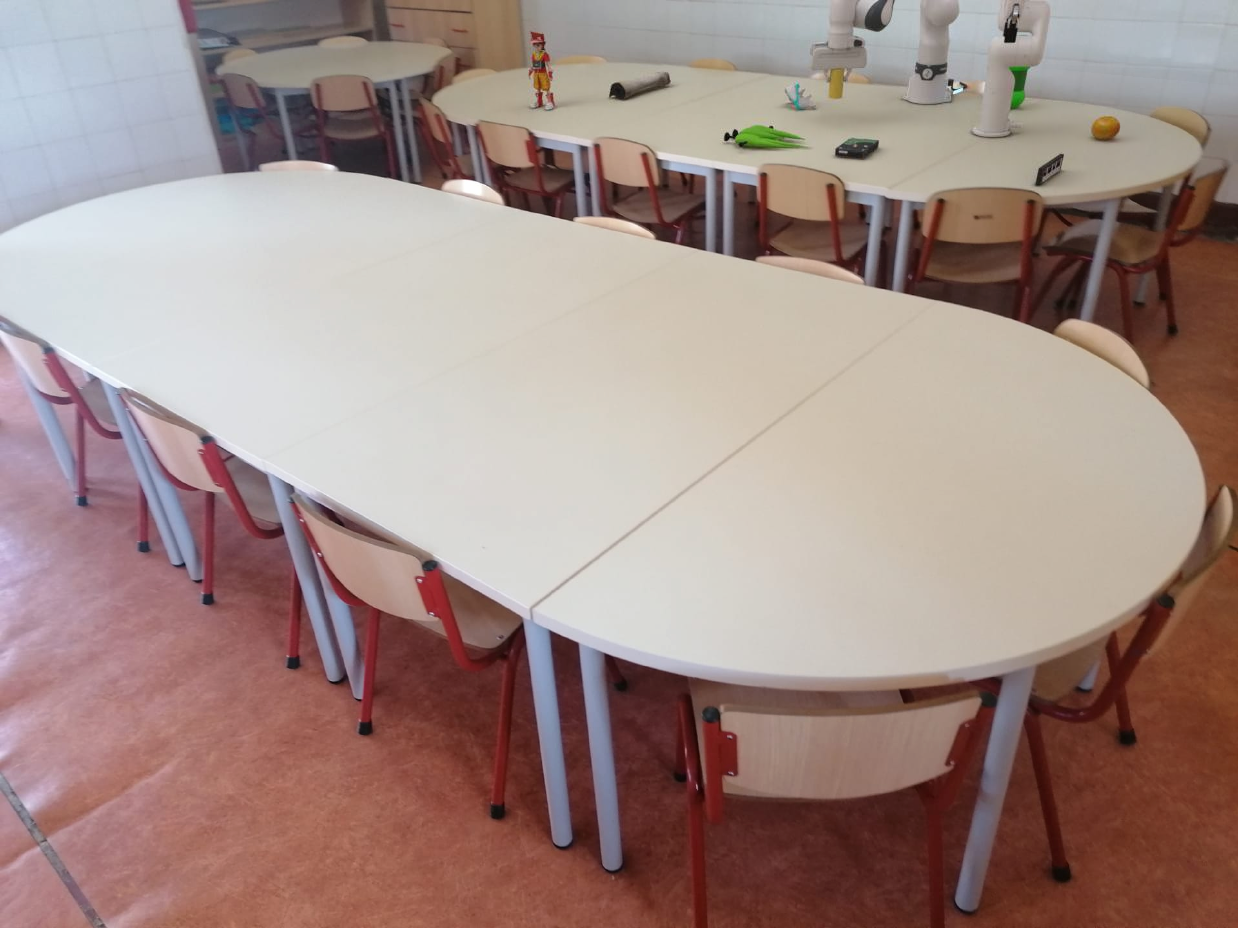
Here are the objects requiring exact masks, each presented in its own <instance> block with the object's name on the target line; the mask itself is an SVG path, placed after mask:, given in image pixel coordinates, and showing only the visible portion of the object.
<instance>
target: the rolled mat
mask: <svg viewBox="0 0 1238 928" xmlns="http://www.w3.org/2000/svg"><path fill="white" fill-rule="evenodd" d="M671 83H672V81H671V77H670V74H669V72H668V71H658V72H654V73H649V74H645V75H640V76H637V77H633V78H628V79H623V80H620V81H616V82H613V83H612V84H611V85H610V89H609V95H608V97H609V98H611V97H616V99H620V100H622V101H623V100H626V99H627V98H629V97H630V96H632V95H635V94H636V93H638V92H640V91H643V90H644V89H647V88H650V87H655V86H658V87H659V86H661V87H665V86H669V85H670V84H671Z"/></svg>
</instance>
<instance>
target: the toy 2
mask: <svg viewBox="0 0 1238 928" xmlns="http://www.w3.org/2000/svg"><path fill="white" fill-rule="evenodd" d="M730 139H734V142H735V143H736V144H737V145H738V147H739V148H743V147H752V148H753V147H758V148H762V147H763V148H807V146H806V145H800V144H796V143H790V142H786V141H782V140H783V139H791V140H804V141H806V138H804V137H801V136H798V135H796V134H792V133H789V132H787V131H782V130H778V129H775V128H774V126H773V125H769V126H768V127H767V126H765V125H762V124H761V125H760V124H757V125H752V126H748V127H745V128H743V129H741V131H738V129H737V128H734V129H733V130H732V133H731V134H730V133H729V132H728V131H726V132H725V133H724V136H723V141H724V142H728V141H730Z"/></svg>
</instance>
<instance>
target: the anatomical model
mask: <svg viewBox="0 0 1238 928" xmlns="http://www.w3.org/2000/svg"><path fill="white" fill-rule="evenodd" d="M800 87H801V86H800V83H798V82H797V81H796V80H794V81H792V83H791V84H790V85H788V86H785V87H784V92H785V94H786V97H788V100H789V101H790V102H791V103H793V104H794V106H795V108H796V109H797V110H799V111H800V110H804V109H808V108H810V109H814V108H815V107H816V104H815V103H811V102H810V99H811V98H812V94H807V95H805V96H804V95H803V94H804V93H805V91H806V88H802V89H801V90H799V89H800Z"/></svg>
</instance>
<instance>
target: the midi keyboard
mask: <svg viewBox="0 0 1238 928" xmlns="http://www.w3.org/2000/svg"><path fill="white" fill-rule="evenodd" d="M1064 157H1065V153H1059V154H1058V155H1056V156H1055V157H1052V159H1051V160H1049V161H1047V162H1045V164H1042V165H1041V166H1039V167H1038V169H1037V175H1036V179H1035V186H1040V185H1042V183H1044V182H1045V181H1047V180H1048V179H1049V178H1051V177H1052V176H1054V175H1055V174H1056V173H1058V172H1060V171H1061V170H1062V165H1063V161H1064Z"/></svg>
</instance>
